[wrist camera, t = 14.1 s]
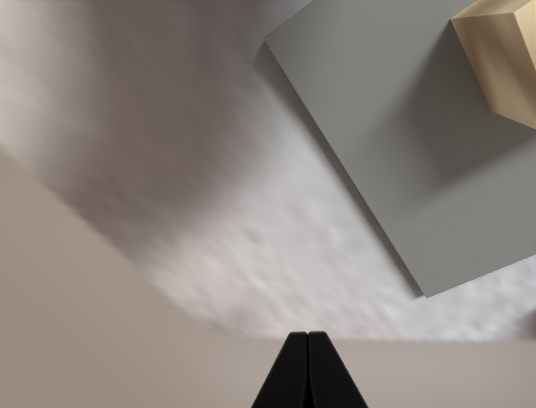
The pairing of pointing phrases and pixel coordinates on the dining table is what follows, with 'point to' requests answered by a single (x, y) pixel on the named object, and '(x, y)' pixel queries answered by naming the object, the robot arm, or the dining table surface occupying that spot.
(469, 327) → the dining table surface
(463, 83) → the board
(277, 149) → the dining table surface
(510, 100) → the wooden building block
